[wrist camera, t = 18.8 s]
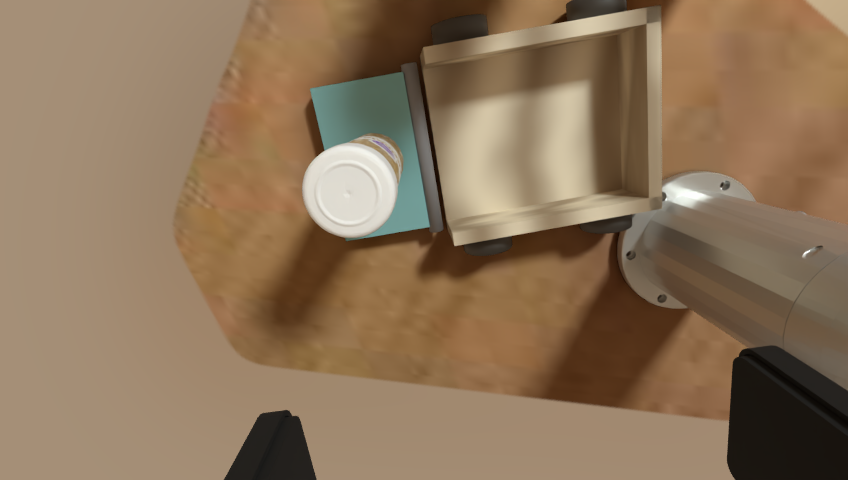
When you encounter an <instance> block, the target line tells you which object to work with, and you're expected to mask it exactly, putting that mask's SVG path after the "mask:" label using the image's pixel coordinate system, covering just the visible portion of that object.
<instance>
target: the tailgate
mask: <svg viewBox="0 0 848 480" xmlns="http://www.w3.org/2000/svg"><path fill="white" fill-rule="evenodd" d="M401 71H402V72H399V73H393V74H388V75H382V76H377V77H371V78H366V79H360V80H355V81H349V82H344V83H338V84H333V85H327V86H322V87H316V88H311V89H310V91H311V95H312V100H313V104H314V108H315V112H316V116H317V121H318V125H319V129H320V133H321V138H322V142H323V146H324V150H327V149H329V148H331V147H334V146H336V145H339V144H344V143H348V142H350V141H352V140H354V139H357V138H359V137H360V136H362V135H365V134H368V133H378V134H382V135H385V136H388V137H390V138H391V139H392V140H393V141H394V142H395V143H396V144H397V145H398V147H399V148H400V150H401V153H402V155H403V160H404V162H403V171H402V174H401V177H400V181H399V185H398V195H397V200H396V203H395V207H394V209H393V211H392V213H391V215H390V217H389V218H388V220H387V221H386V222H385V223H384V225H383V226H381V227H380V228H379V229H378V230H376V231H375V232H373V233H371V234H369V235H366V236H363V237H357V238H345V239H346V241H350V240H356V239H362V238H368V237H374V236H380V235H386V234H391V233H397V232H403V231H409V230H415V229H421V228H427V227H429V231H430V232H439V231H442V230H443V229H444V228H443V222H442V216H441V209H440V203H439V197H438V191H437V185H436V179H435V173H434V167H433V160H432V154H431V148H430V142H429V136H428V130H427V124H426V118H425V111H424V105H423V99H422V93H421V87H420V81H419V75H418V69H417V63H416V62H413V63H407V64H403V65H401Z"/></svg>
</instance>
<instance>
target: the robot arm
mask: <svg viewBox="0 0 848 480" xmlns="http://www.w3.org/2000/svg"><path fill="white" fill-rule="evenodd" d="M617 258H618V263H619V268H620V271H621V273H622V275H623V278H624V280H625V281H626V282H627V284H628V285H629V286H630V288H631V289H632V290H633V291H635V292H636V293H637V294H638V295H639V296H641V297H642V298H644V299H645V300H647V301H648V302H650V303H652V304H654V305H657V306H660V307H665V308H670V309H685V308H690V309H691V310H693V311H694V312H696V313H697V314H699V315H700V316H702V317H703V318H705V319H706V320H707V321H709V322H710V323H712V324H713V325H715V326H716V327H718V328H719V329H721V330H722V331H724V332H725V333H727V334H728V335H730V336H731V337H733V338H734V339H736V340H737V341H739V342H740V343H742V344H743V345H745V346H746V347H748V348H747V349H744V350H742V351H741V352H740V354H739V357H737V358H735V359H734V361H733V369H732V385H731V402H730V419H729V435H728V452H727V463H728V467H729V469H730V472H731V474H732V475H733V477H734V478H735V480H848V225H847V224H843V223H839V222H835V221H831V220H826V219H822V218H818V217H814V216H810V215H807V214H806V213H805V212H803V211H796V212H794V211H790V210H786V209H782V208H778V207H774V206H770V205H766V204H762V203H757V202H756V201H755V199H754V197H753V195H752V194H751V192H750V191H749V190H748V189H747V188H746V187H745V186H744V185H743V184H741V183H740V182H738V181H737V180H735V179H733V178H731V177H729V176H726V175H723V174H720V173H714V172H708V171H691V172H686V173H680V174H677V175H675V176H672V177H669V178H667V179H665V180H663V181H662V209H658V210H652V211H647V212H641V213H635V214H632V227H631V228H629V229H627V230H624V231H621V232H620V234H619V239H618V244H617ZM224 480H316V476H315V472H314V469H313V465H312V462H311V458H310V454H309V451H308V447H307V443H306V440H305V436H304V432H303V429H302V425H301V421H300V419H299V417H297V416H292V415H291V413H290V412H289V411H288V410H284V411H276V412H269V413H262V414H260V416H259V417H258V418H257V420H256V422H255V424H254V426H253V428H252V429H251V431H250V433H249V435H248V437H247V439H246V440H245V442H244V444H243V446H242V448H241V450H240V452H239V453H238V455H237V457H236V459H235V461H234V463H233V465H232V466H231V468H230V470H229V472H228V474H227V475H226V477H225V479H224Z"/></svg>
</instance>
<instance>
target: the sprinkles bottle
mask: <svg viewBox="0 0 848 480" xmlns="http://www.w3.org/2000/svg"><path fill="white" fill-rule="evenodd" d="M403 162H404V160H403V155H402V153H401V150H400V148H399V147H398V145H397V144H396V143H395V142H394V141H393V140H392V139H391V138H390V137H388V136H385V135H382V134H378V133H368V134H365V135H362V136H360V137H359V138H357V139H354V140H352V141H350V142H348V143H344V144H339V145H336V146H334V147H331V148H329V149H327V150H325V151H324V152H322V153H321V154H319V155H318V156H317V157H316V158H315V159H314V160H313V161H312V162H311V164H310V165H309V167H308V168H307V170H306V173H305V175H304V179H303V185H302V195H303V201H304V204H305V207H306V209H307V211H308V213H309V215H310V216H311V218H312V219H313V220H314V221H315V222H316V223H317V224H318V225H319V226H320V227H321V228H322V229H324V230H325V231H327V232H329V233H331V234H334V235H336V236H340V237H345V238H357V237H363V236H366V235H369V234H371V233H373V232H375V231H376V230H378V229H379V228H380V227H381V226H383V225H384V223H385V222H386V221H387V220H388V218H389V217H390V215H391V213H392V211H393V209H394V207H395V203H396V200H397V195H398V185H399V181H400V177H401V174H402V171H403Z"/></svg>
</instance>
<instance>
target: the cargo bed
mask: <svg viewBox="0 0 848 480" xmlns="http://www.w3.org/2000/svg"><path fill="white" fill-rule="evenodd" d="M566 13H567V22H562V23H557V24H551V25H545V26H540V27H534V28H528V29H523V30H517V31H512V32H506V33H500V34H495V35H488V27H487V18H486V15H482V14H475V15H466V16H460V17H455V18H451V19H447V20H444V21H441V22H438V23H436V24H434V25H433V26H431V32H432V39H433V46H427V47H423V49H422V52H421V55H420V62H421V68H422V74H423V81H424V87H425V93H426V99H427V105H428V112H429V118H430V124H431V130H432V137H433V143H434V149H435V155H436V161H437V168H438V174H439V180H440V186H441V193H442V199H443V205H444V211H445V218H446V224H447V229H448V232H449V234H450V237H451V239H452V241H453V244H454V246H458V245H464V251H465V252H466V253H467V254H470V255H475V256H487V255H494V254H498V253H502V252H504V251H507V250H508V249H510V248H511V247H512V236H514V235H519V234H525V233H530V232H536V231H541V230H547V229H552V228H558V227H563V226H569V225H575V224H580V228H581V229H582V230H583V231H586V232H590V233H615V232H621V231H624V230H627V229H629V228H631V227H632V214H635V213H641V212H647V211H652V210H658V209H662V72H661V5H658V6H652V7H646V8H641V9H635V10H629V11H627V4H626V0H572V1H570V2H568V3H567V4H566Z"/></svg>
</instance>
